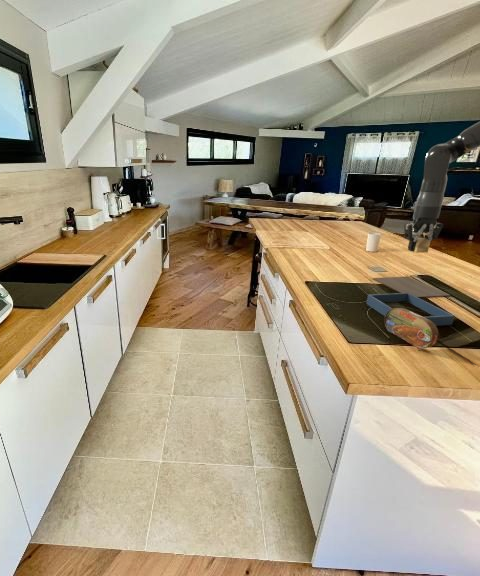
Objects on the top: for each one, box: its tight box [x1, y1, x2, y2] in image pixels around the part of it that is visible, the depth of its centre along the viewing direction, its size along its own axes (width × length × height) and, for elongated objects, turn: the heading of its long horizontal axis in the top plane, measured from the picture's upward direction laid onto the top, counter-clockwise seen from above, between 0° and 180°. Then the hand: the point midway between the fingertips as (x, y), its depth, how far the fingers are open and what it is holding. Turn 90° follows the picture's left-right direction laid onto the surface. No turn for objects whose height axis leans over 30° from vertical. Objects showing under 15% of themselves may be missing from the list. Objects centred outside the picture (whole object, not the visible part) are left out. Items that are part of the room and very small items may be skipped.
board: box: [372, 275, 452, 299], centre depth 125 cm, size 16×22×2 cm
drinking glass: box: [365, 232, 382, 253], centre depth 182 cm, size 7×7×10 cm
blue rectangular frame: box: [365, 292, 455, 327], centre depth 103 cm, size 15×19×4 cm
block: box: [406, 237, 431, 254], centre depth 118 cm, size 5×5×5 cm
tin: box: [384, 307, 439, 350], centre depth 88 cm, size 15×3×8 cm, turn 13°
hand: (417, 250), depth 119 cm, fingers closed on block, 4 cm apart
